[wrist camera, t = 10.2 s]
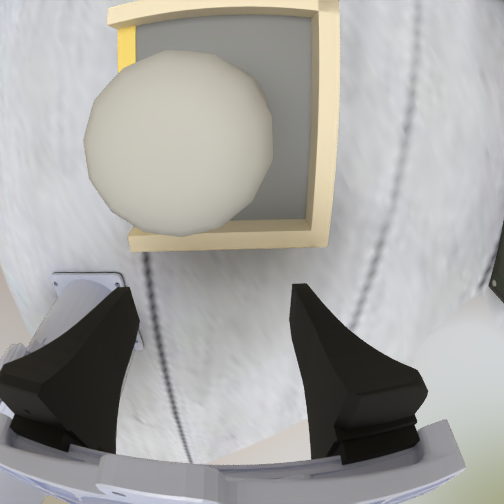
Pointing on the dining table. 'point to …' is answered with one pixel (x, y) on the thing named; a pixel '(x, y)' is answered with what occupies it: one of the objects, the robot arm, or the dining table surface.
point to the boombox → (499, 270)
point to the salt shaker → (179, 142)
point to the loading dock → (278, 102)
